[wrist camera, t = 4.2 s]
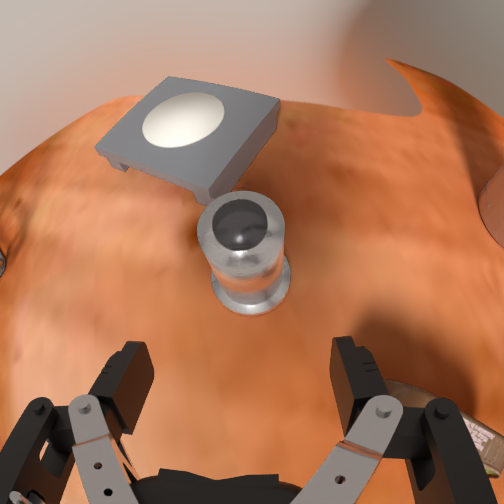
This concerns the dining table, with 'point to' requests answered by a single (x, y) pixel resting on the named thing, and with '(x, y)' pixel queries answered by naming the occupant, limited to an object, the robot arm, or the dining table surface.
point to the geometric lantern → (3, 263)
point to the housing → (245, 252)
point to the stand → (193, 135)
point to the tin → (486, 439)
